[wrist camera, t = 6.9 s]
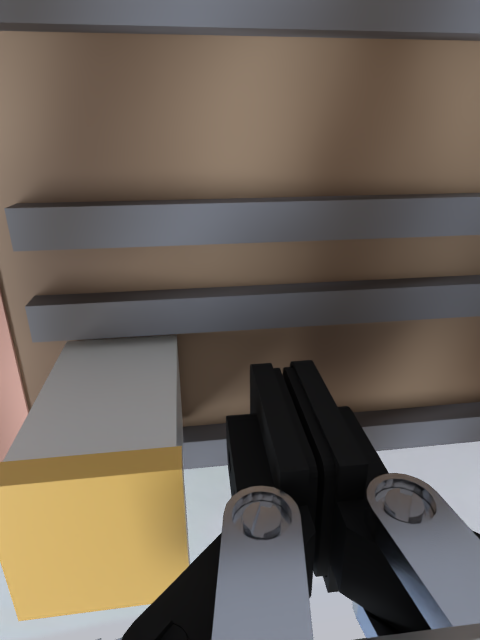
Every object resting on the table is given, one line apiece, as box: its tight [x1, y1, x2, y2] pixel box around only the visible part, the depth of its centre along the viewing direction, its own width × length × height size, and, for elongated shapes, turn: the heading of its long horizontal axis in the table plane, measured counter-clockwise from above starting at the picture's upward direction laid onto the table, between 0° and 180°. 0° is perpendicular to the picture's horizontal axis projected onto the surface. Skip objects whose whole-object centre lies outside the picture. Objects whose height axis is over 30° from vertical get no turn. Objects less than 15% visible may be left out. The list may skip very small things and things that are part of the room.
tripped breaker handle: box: [0, 335, 190, 621], centre depth 10 cm, size 3×3×6 cm
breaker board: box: [0, 0, 480, 469], centre depth 11 cm, size 25×14×8 cm, turn 90°
